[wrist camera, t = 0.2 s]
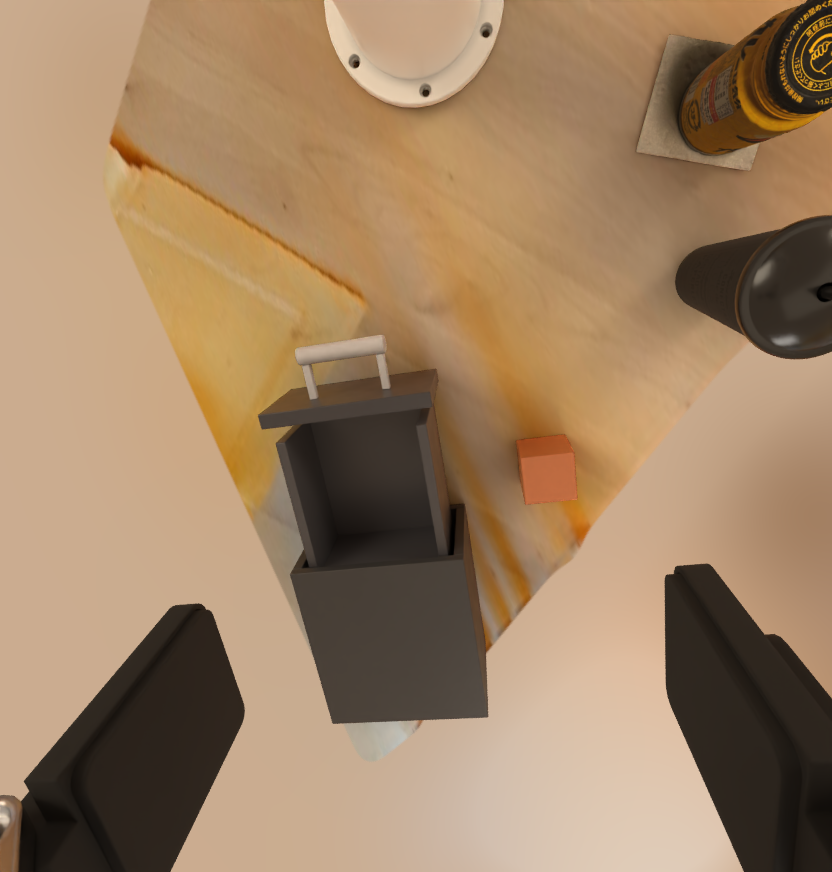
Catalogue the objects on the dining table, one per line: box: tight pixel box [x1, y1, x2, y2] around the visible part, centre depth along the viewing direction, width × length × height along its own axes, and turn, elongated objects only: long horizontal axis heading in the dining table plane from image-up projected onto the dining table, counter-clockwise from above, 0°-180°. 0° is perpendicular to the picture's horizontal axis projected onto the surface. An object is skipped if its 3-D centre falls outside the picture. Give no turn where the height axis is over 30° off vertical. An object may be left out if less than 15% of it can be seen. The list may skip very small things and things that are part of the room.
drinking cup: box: [675, 215, 832, 359], centre depth 32 cm, size 8×8×20 cm
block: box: [516, 435, 577, 505], centre depth 46 cm, size 4×4×4 cm
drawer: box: [258, 335, 453, 568], centre depth 44 cm, size 20×13×8 cm
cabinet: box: [290, 504, 488, 724], centre depth 49 cm, size 17×15×10 cm
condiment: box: [636, 0, 832, 171], centre depth 32 cm, size 7×8×12 cm
